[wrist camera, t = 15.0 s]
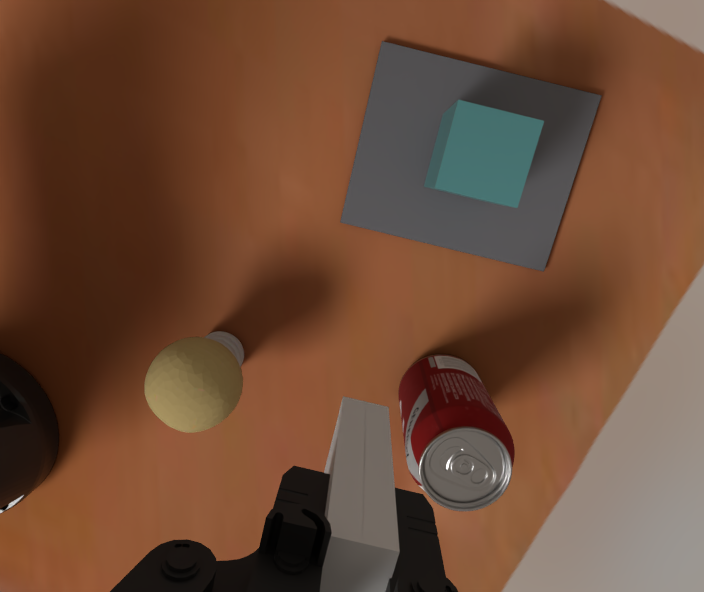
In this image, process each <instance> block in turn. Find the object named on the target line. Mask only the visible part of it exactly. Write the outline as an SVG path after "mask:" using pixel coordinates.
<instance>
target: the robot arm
mask: <svg viewBox="0 0 704 592" xmlns="http://www.w3.org/2000/svg"><path fill="white" fill-rule="evenodd" d="M58 443H59V433H58V425H57V420H56V416H55V413H54V410H53V408H52V406H51V403H50V401H49V399H48V397H47V396H46V394H45V392H44V391H43V389H42V388H41V387H40V385H39V384H38V383H37V382H36V380H35V379H34V378H33V377H32V376H31V375H30V374H29V373H28V372H27V371H26V370H25V369H23V368H22V367H21V366H20V365H18V364H17V363H16V362H14V361H13V360H11V359H10V358H8V357H6V356H4V355H2V354H0V513H2V512H4V511H7V510H9V509H10V508H12V507H14V506H15V505H17V504H18V503H19V502H21V501H22V500H23V499H24V498H26V497H27V496H28V495H29V494H30V493H31V492H32V491H33V490H34V489H35V488H37V487H38V486H39V485H40V484H41V483H42V482H43V480H44V479H45V478H46V477H47V475H48V474H49V472H50V470H51V469H52V467H53V464H54V462H55V459H56V455H57V451H58ZM437 534H438V533H437V528H436V525H435V517H434V512H433V508H432V507H431V505H430V504H429V502H428V501H427V499H426V498H425V497H424V495H423V494H419V493H415V492H411V491H406V490H402V489H398V488H395V485H394V473H393V460H392V447H391V434H390V421H389V408H388V407H386V406H382V405H378V404H373V403H369V402H365V401H361V400H356V399H352V398H348V397H344V396H343V399H342V403H341V407H340V411H339V415H338V419H337V423H336V427H335V431H334V435H333V439H332V443H331V447H330V451H329V455H328V459H327V463H326V467H325V471H324V473H323V472H319V471H314V470H310V469H306V468H301V467H297V466H293V467H292V468H291V469H289V470H288V471H287V472H286V473H285V474H284V475H283V477H282V480H281V483H280V487H279V490H278V494H277V497H276V501H275V504H274V507H273V509H272V510H271V511H270V512H269V514H268V515H267V517H266V520H265V525H264V529H263V534H262V538H261V542H260V547H259V548H258V549H257V550H256V551H255V552H254V553H252V554H250V555H249V556H247V557H244V558H241V559H237V560H229V561H216V558H215V556H214V555H213V553H212V552H211V550H210V549H209V548H207V547H206V546H204V545H203V544H201V543H198V542H195V541H191V540H173V541H169V542H166V543H163V544H160V545H159V546H157V547H156V548H155V549H153V550H152V551H150V552H149V553H148V554H147V555H146V556H145V557H144V558H143V559H142V560H141V561H140V562H139V563H138V564H137V565H136V566H135V567H134V568H133V569H132V570H131V571H130V572H129V573H128V574H127V575H126V576H125V577H124V578H123V579H122V580H121V581H120V582H119V583H118V584H117V585H116V586H115V587H114V588H113V589H112V590H111V591H110V592H458V590H457V588H456V587H455V586H454V585H453V584H452V583H451V581H450V580H449V579H448V578H446V576H445V570H444V565H443V560H442V555H441V549H440V544H439V539H438V537H437Z"/></svg>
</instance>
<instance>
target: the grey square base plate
mask: <svg viewBox="0 0 704 592" xmlns="http://www.w3.org/2000/svg"><path fill="white" fill-rule="evenodd" d="M600 99H601V95H597V94H593V93H589V92H585V91H581V90H577V89H573V88H569V87H565V86H561V85H557V84H553V83H549V82H545V81H541V80H537V79H533V78H529V77H525V76H521V75H516V74H512V73H508V72H504V71H500V70H496V69H492V68H488V67H484V66H480V65H476V64H472V63H468V62H464V61H460V60H456V59H452V58H448V57H444V56H440V55H436V54H432V53H428V52H424V51H420V50H416V49H412V48H408V47H404V46H400V45H395V44H391V43H387V42H383V41H382V43H381V48H380V52H379V56H378V61H377V65H376V69H375V74H374V78H373V82H372V87H371V91H370V95H369V100H368V104H367V108H366V113H365V117H364V122H363V126H362V130H361V135H360V139H359V143H358V148H357V152H356V156H355V161H354V165H353V169H352V174H351V178H350V182H349V187H348V191H347V195H346V200H345V204H344V208H343V213H342V217H341V223H345V224H349V225H353V226H357V227H362V228H366V229H370V230H374V231H378V232H382V233H386V234H391V235H395V236H399V237H403V238H407V239H411V240H415V241H420V242H424V243H428V244H432V245H436V246H440V247H444V248H448V249H453V250H457V251H461V252H465V253H469V254H473V255H477V256H482V257H486V258H490V259H494V260H498V261H502V262H506V263H511V264H515V265H519V266H523V267H527V268H531V269H535V270H540V271H544V270H545V267H546V264H547V260H548V257H549V254H550V251H551V248H552V245H553V242H554V239H555V236H556V233H557V230H558V227H559V224H560V221H561V218H562V215H563V212H564V209H565V206H566V203H567V200H568V196H569V193H570V190H571V187H572V184H573V181H574V178H575V175H576V172H577V169H578V166H579V163H580V160H581V157H582V154H583V151H584V148H585V145H586V142H587V139H588V136H589V132H590V129H591V126H592V123H593V120H594V117H595V114H596V111H597V108H598V105H599V102H600ZM458 100H462V101H466V102H470V103H474V104H478V105H482V106H486V107H490V108H494V109H498V110H502V111H506V112H510V113H514V114H518V115H522V116H526V117H531V118H535V119H539V120H543V121H544V123H543V127H542V130H541V133H540V136H539V140H538V143H537V146H536V149H535V153H534V156H533V159H532V162H531V166H530V169H529V172H528V175H527V179H526V182H525V185H524V188H523V192H522V195H521V198H520V201H519V205H518V208H514V207H509V206H503V205H498V204H493V203H489V202H484V201H480V200H476V199H472V198H468V197H464V196H460V195H456V194H452V193H448V192H444V191H439V190H435V189H431V188H427V187H424V184H425V180H426V176H427V172H428V169H429V165H430V161H431V157H432V154H433V150H434V146H435V142H436V138H437V135H438V131H439V127H440V123H441V119H442V116H443V113H445V112H446V111H447V110H448V109H449V108H450V107H451V106H452V105H453V104H454V103H455V102H456V101H458Z"/></svg>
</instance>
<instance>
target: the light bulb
mask: <svg viewBox="0 0 704 592" xmlns="http://www.w3.org/2000/svg"><path fill="white" fill-rule="evenodd" d="M243 360H244V350H243V346H242V344H241V343H240V341H239V340H238V339H237V338H236V337H235V336H233V335H232V334H230V333H227V332H222V331H217V332H213V333H210V334H208V335H207V336H205V337H189V338H184V339H181V340H178V341H176V342H174V343H172V344H170V345H168V346H167V347H165V348H164V349H163V350H162V351H161V352H160V353H159V354H158V355H157V356H156V358H155V359H154V360H153V362H152V363H151V365H150V367H149V369H148V372H147V375H146V379H145V396H146V400H147V402H148V404H149V406H150V408H151V409H152V411H153V412H154V414H155V415H156V416H157V417H158V418H159V419H160V420H162V421H163V422H164V423H165V424H167V425H168V426H170V427H172V428H174V429H176V430H179V431H182V432H189V433H191V432H199V431H203V430H206V429H209V428H211V427H214V426H215V425H217V424H219V423H220V422H222V421H223V420H224V419H225V418H227V417H228V416H229V414H230V413H231V412H232V411H233V410H234V408H235V407H236V405H237V403H238V401H239V399H240V396H241V393H242V387H243V377H242V371H241V368H240V366H241V365H242V363H243Z"/></svg>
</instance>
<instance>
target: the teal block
mask: <svg viewBox="0 0 704 592" xmlns="http://www.w3.org/2000/svg"><path fill="white" fill-rule="evenodd" d="M543 123H544V121H543V120H539V119H535V118H531V117H526V116H522V115H518V114H514V113H510V112H506V111H502V110H498V109H494V108H490V107H486V106H482V105H478V104H474V103H470V102H466V101H462V100H458V101H456V102H455V103H454V104H453V105H452V106H451V107H450V108H449V109H448V110H447V111H446V112H445V113H443V116H442V119H441V123H440V127H439V131H438V135H437V138H436V142H435V146H434V150H433V154H432V157H431V161H430V165H429V169H428V172H427V176H426V180H425V184H424V187H427V188H431V189H435V190H439V191H444V192H448V193H452V194H456V195H460V196H464V197H468V198H472V199H476V200H480V201H484V202H489V203H493V204H498V205H503V206H509V207H514V208H518V205H519V201H520V198H521V195H522V192H523V188H524V185H525V182H526V179H527V175H528V172H529V169H530V166H531V162H532V159H533V156H534V153H535V149H536V146H537V143H538V140H539V136H540V133H541V130H542V127H543Z"/></svg>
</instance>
